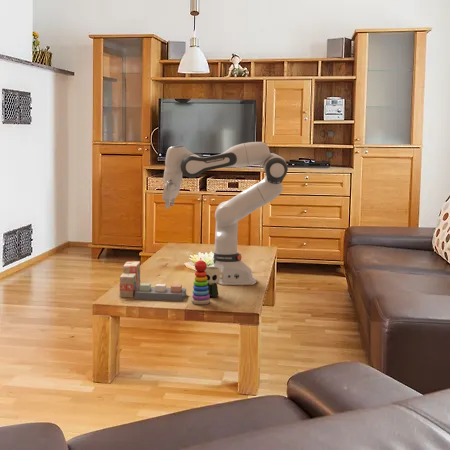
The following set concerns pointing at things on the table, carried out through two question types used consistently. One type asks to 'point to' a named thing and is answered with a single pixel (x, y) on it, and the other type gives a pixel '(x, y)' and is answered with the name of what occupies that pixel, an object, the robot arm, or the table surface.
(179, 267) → the table surface
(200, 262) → the stacking toy
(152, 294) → the button panel
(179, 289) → the terracotta button
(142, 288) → the sage button
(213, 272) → the character mug
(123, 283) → the stack of blocks
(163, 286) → the cream button
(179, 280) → the table surface
